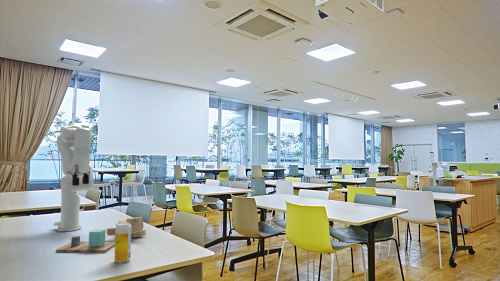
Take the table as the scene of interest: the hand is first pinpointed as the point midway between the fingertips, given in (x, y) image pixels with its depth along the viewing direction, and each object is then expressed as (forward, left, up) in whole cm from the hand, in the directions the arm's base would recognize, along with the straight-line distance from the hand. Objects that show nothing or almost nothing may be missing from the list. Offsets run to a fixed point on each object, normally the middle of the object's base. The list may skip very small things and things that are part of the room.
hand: (80, 184), depth 162 cm
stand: (+12, -14, -28) cm, 34 cm away
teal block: (+16, -14, -27) cm, 34 cm away
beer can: (+35, -32, -28) cm, 55 cm away
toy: (+21, +8, -29) cm, 36 cm away
